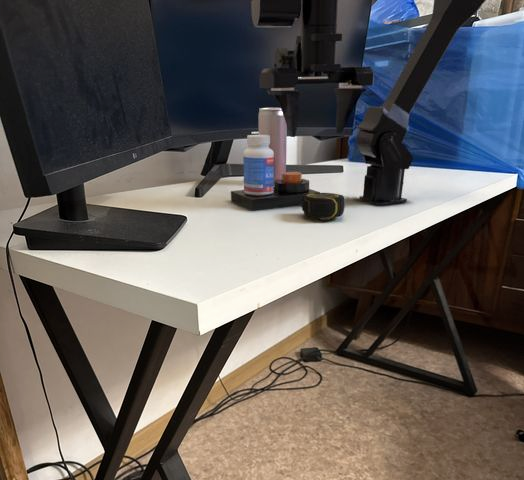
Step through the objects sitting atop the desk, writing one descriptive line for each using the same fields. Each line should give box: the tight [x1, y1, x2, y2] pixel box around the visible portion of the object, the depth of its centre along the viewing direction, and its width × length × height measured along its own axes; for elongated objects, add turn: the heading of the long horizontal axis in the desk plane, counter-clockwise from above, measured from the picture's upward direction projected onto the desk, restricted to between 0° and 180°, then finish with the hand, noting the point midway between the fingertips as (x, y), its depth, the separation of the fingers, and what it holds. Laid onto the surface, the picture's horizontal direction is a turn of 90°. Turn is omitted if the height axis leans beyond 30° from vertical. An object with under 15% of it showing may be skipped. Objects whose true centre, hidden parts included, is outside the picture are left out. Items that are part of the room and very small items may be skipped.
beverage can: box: [257, 107, 288, 181], centre depth 110 cm, size 6×6×15 cm
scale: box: [230, 178, 321, 212], centre depth 94 cm, size 14×9×4 cm, turn 117°
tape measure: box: [300, 192, 346, 221], centre depth 83 cm, size 7×7×4 cm
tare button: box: [282, 171, 303, 183], centre depth 95 cm, size 4×4×2 cm
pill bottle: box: [242, 134, 274, 196], centre depth 91 cm, size 6×5×10 cm
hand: (316, 135), depth 87 cm, fingers open, 9 cm apart
